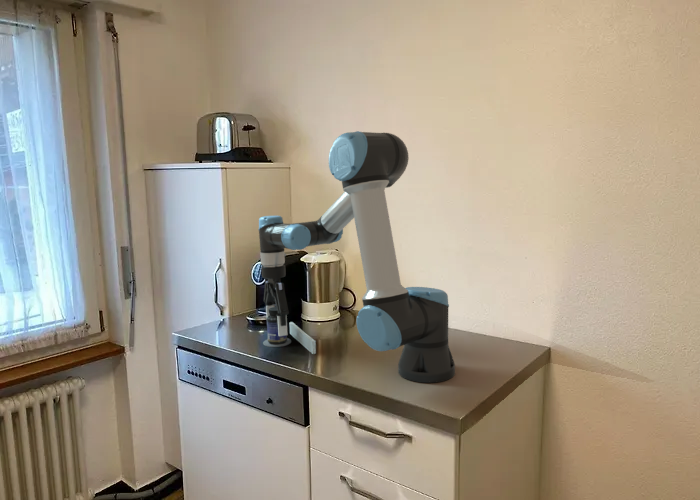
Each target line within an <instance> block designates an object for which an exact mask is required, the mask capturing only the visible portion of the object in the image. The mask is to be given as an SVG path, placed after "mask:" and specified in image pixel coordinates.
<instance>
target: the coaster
mask: <svg viewBox="0 0 700 500" xmlns="http://www.w3.org/2000/svg"><path fill="white" fill-rule="evenodd" d="M291 343H292V340H291V339H290V338H288V337H287V341H286V342H285V343H282V344H270V343H269V342H268V338H267V339H265V340H264V341H263V342H262V344H263V346H264V347H267V348H281V347H285V346H288V345H290V344H291Z"/></svg>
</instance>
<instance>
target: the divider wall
mask: <svg viewBox="0 0 700 500" xmlns="http://www.w3.org/2000/svg"><path fill="white" fill-rule="evenodd" d="M289 334H290V335H291V336H292V338H294V339H295V340H296V341H297V342H298V343H300V344H301V346H303V347H304V348H305V349H306V350H307V351H308V352H309V353H310V354H312V355H315V354H317V344H316V342H317V341H316V340H315V339H313V337H312V336H310V335H309V334H307V333H306V332H305V331H304V330H303V329H301V328H300V327H299V326H298V325H296V323H294V322H293V321H290V322H289Z"/></svg>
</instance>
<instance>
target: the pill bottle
mask: <svg viewBox="0 0 700 500" xmlns="http://www.w3.org/2000/svg"><path fill="white" fill-rule="evenodd" d="M277 313H278V311H277V307H276V306H275V307H272V308H269V314H270V315H269V316H268V317H267V316H266V327H267V328H266V329H267V330H266V331H267V339H268V342H269V343H270V344H282V343H285V342H286V341H287V338H288V337H287V336H288V335H285V336H278V318H277V316H276V314H277Z"/></svg>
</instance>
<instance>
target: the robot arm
mask: <svg viewBox="0 0 700 500" xmlns="http://www.w3.org/2000/svg"><path fill="white" fill-rule="evenodd" d="M408 165H409V150H408V148H407V146H406V143H405V142H404V141H403V140H402V139H401V138H400V137H399V136H397V135H395V134H394V133H390V132H372V131H370V132H368V131H367V132H366V131H363V132H362V131H357V130H356V131H354V132H353V131H352V132H351V131H350V132H345V133H341V134H340V135H339V136H338V137H336V139H334V141H333V143H332V146H331V148H330V149H329V155H328V168H329V171H330V174H331V175H332V176H333V177H334V179H336V180H338V181H339V182H341V185H342V190H343V193H342V194H340V195H339V196H338V198H337V199H336V200H334V202H333V203H332V204H331V206H329V207H328V208H327V210H326V211H325V212H324V213H323V214H322V215H321V216H320V217H319V218H318V219H317V220H314V221H313V220H311V221H305V222H303V221H302V222H293V223H284V219H283V217H282V216H281V215H264V216H261V217H259V218H258V234H259V235H258V237H259V239H258V240H259V249H260V250H259V251H260V252H259V253H260V254H259V255H260V264H261V277H262V278H263V279H264V292H263V302H264V304H265V314H266V318H267V317H268V316H269V315H270V314H269V308H272V307H277V311H278V313H277V314H276V316H277V318H278V336H285V335H287V336H288V318H287V317H288V316H287V315H289V314H290V311H289V307H288V302H287V296H286V291H285V283H284V282H281V278H282V279H283V278H284V277H286V274H287V273H286V265H285V263H286V262H285V261H286V258H285V257H286V256H287V253H285V249H286V250H292V251H296V250H297V251H299V250H301V251H302V250H304V249H306V248H307V247H312V246H319V245H329V244H333V243H336V242H337V243H338V242H339V241H340V240H341V239H342V237H343V234H344V228H346V226H348V225H349V224H350V223H351V221H353V219H354V223H355V229H356V236H357V239H358V240H357V241H358V246H359V247H358V248H359V253H360V258H361V264H362V270H363V276H364V279H365V288H366V291H365V293H364V294H363V296H362V297H361V298H362V299H361V300H362V306H363V307H362V308H360V310H359V311H358V313H357V316H356V322H355V323H356V327H357V331H358V335H360V338H361V339H362V341H364V343H365V344H366V345H367V346H368V347H370V349H372V350H374V351H377V352H386V351H390V350H396V349H398V348H400V347H402V346H403V348H402V351H401V354H400V358H399V361H398V367H397V368H398V371H397V372H398V375H400V376H401V377H402V378H404V379H406V380H408V381H411V382H412V381H413V382H418V383H423V384H424V383H430V384H431V383H440V382H445V381H447V380H450V379H452V378H454V376H455V374H456V364H455V361H454V359H453V356H452V353H451V349H450V346H449V307H450V304H449V296H448V293H447V292H446V291H444V290H442V289H438V288H435V287H433V288H432V287H427V286H426V287H425V286H424V287H423V286H407V287H404V286H403V285H402V284H401V277H400V271H399V265H398V261H397V255H396V250H395V249H396V248H395V243H394V237H393V233H392V232H393V231H392V226H391V222H390V221H391V220H390V214H389V208H388V203H387V198H386V193H385V192H386V191H385V190H386V189H387V188H390V187H392V186H394V184H395V183H396V182H397V181H399V179H400V178H401V177H402V176H403V174H404V173H405V172H406V169H407V167H408Z"/></svg>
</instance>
